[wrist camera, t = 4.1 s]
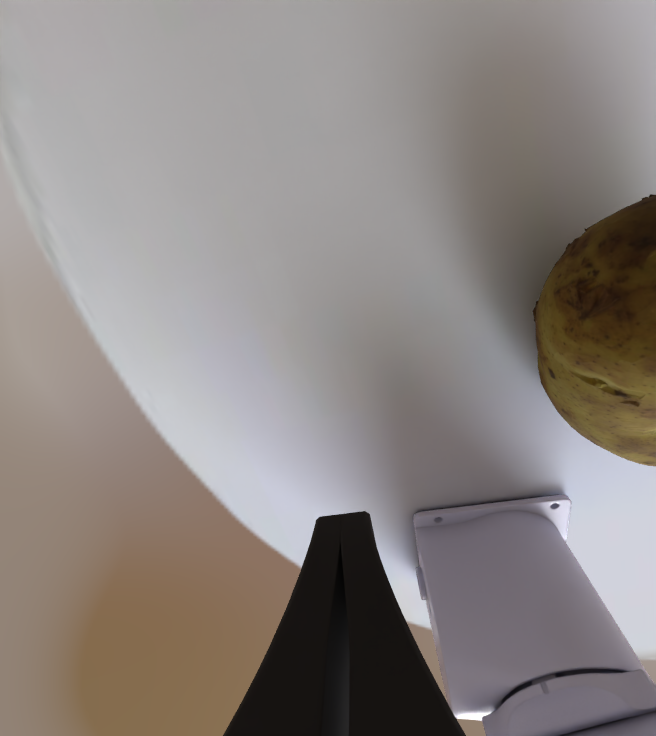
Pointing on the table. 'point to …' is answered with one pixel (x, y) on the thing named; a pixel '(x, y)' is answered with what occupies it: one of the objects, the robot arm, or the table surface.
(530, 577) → the robot arm
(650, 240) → the potato
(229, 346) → the table surface
